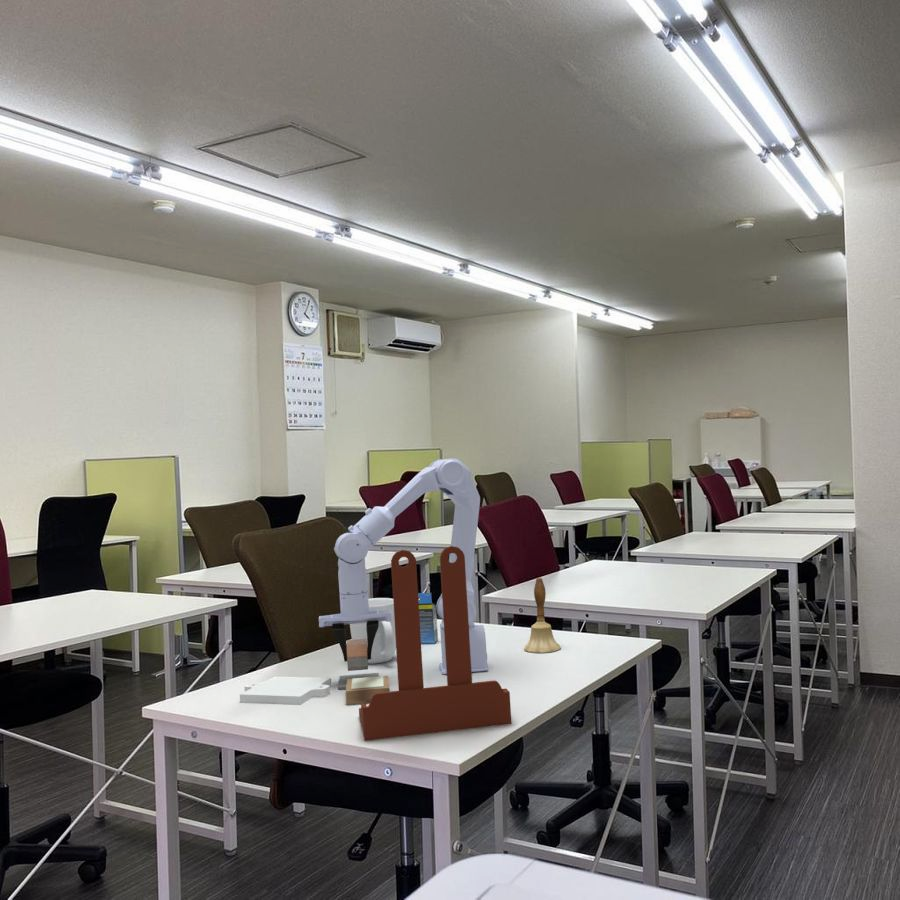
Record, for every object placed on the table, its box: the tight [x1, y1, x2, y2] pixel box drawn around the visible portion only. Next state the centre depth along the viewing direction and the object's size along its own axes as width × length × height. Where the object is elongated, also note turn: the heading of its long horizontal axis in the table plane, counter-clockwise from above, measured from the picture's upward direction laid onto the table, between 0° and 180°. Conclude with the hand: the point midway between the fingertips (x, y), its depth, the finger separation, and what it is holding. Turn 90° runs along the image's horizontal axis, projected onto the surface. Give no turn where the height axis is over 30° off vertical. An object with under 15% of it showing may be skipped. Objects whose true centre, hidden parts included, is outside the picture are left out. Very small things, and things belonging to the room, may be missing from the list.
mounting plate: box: [239, 675, 332, 706], centre depth 166 cm, size 18×13×2 cm
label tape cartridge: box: [418, 592, 439, 645], centre depth 206 cm, size 9×4×12 cm, turn 77°
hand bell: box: [523, 577, 562, 654], centre depth 191 cm, size 8×8×16 cm
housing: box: [346, 639, 369, 672], centre depth 172 cm, size 4×6×5 cm, turn 5°
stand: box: [345, 675, 390, 706], centre depth 161 cm, size 8×9×3 cm
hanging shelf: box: [358, 545, 512, 742], centre depth 144 cm, size 24×13×30 cm, turn 100°
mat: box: [337, 672, 380, 691], centre depth 172 cm, size 8×9×1 cm
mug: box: [349, 597, 396, 665], centre depth 188 cm, size 15×11×13 cm
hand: (357, 659), depth 172 cm, fingers closed on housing, 4 cm apart
